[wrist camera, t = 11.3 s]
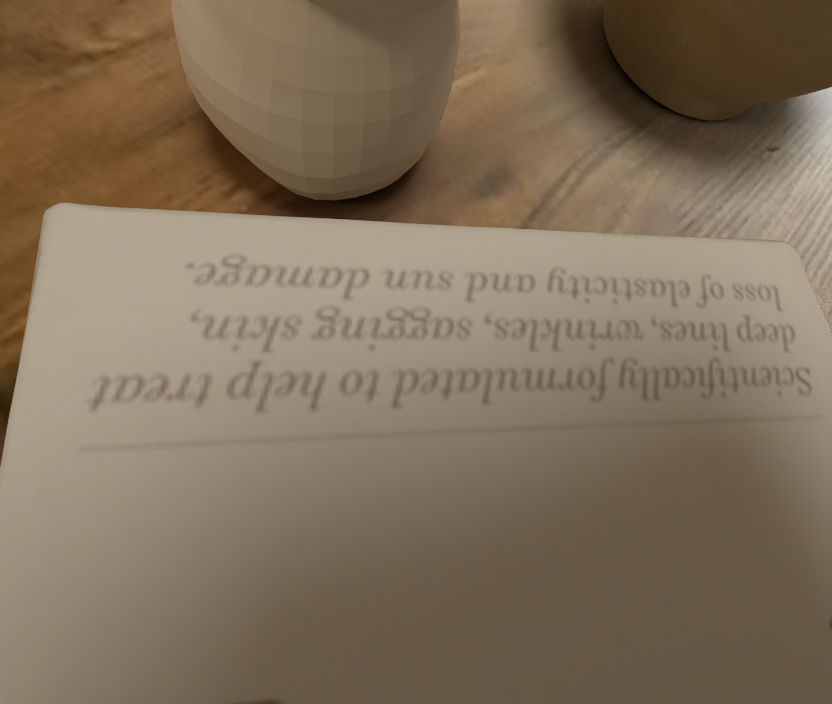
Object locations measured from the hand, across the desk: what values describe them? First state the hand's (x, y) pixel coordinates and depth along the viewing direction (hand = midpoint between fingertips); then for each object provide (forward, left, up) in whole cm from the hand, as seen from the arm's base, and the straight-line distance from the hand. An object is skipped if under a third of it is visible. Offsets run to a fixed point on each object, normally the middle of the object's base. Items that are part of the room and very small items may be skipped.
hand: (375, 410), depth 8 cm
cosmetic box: (-1, -1, -7) cm, 7 cm away
